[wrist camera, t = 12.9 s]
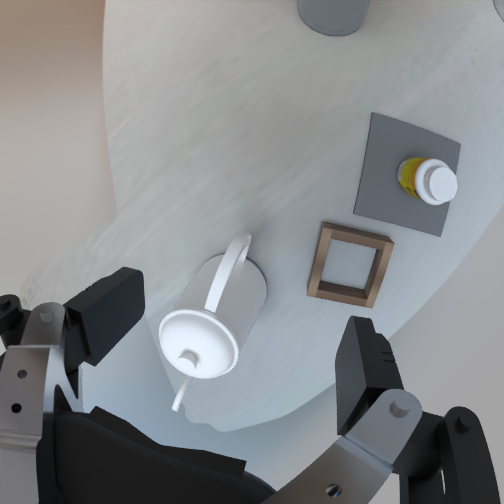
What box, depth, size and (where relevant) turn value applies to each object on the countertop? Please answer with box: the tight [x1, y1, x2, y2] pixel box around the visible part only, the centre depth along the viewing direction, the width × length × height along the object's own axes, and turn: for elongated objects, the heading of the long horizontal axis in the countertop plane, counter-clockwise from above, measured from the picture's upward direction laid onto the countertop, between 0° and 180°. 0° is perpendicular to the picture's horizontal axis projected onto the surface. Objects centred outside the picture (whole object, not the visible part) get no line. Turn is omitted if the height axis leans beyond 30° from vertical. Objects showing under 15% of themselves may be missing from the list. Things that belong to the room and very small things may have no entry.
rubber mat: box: [353, 113, 461, 237], centre depth 32 cm, size 14×14×1 cm
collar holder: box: [307, 222, 394, 308], centre depth 37 cm, size 10×10×3 cm
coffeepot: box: [159, 230, 267, 411], centre depth 34 cm, size 11×25×19 cm, turn 160°
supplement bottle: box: [397, 157, 458, 205], centre depth 27 cm, size 5×5×10 cm
